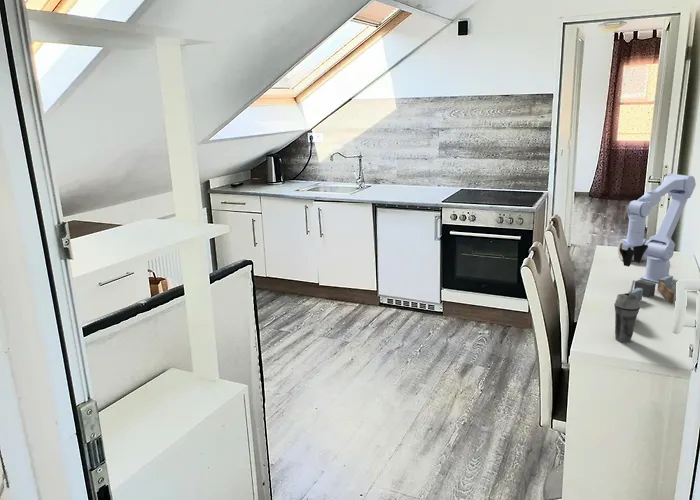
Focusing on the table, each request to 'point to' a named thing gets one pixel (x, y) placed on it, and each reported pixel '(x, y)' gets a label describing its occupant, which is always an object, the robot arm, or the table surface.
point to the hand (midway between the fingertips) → (631, 264)
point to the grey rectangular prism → (646, 287)
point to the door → (666, 292)
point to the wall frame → (665, 280)
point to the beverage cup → (625, 316)
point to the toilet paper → (631, 248)
